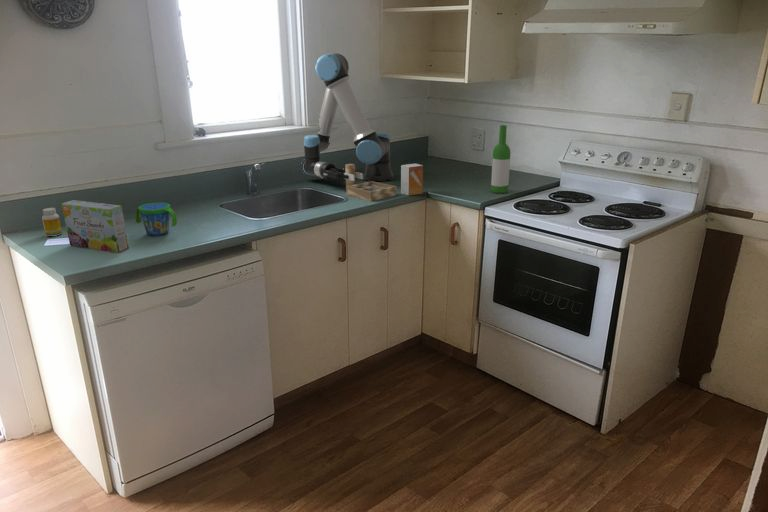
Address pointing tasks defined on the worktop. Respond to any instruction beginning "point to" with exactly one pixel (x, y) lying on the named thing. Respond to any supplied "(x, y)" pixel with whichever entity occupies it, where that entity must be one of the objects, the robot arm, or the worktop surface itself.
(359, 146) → the robot arm
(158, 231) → the snack cup
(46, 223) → the supplement bottle
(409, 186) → the small box
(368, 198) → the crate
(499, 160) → the wine bottle
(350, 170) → the peg
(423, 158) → the worktop surface
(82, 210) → the snack box
